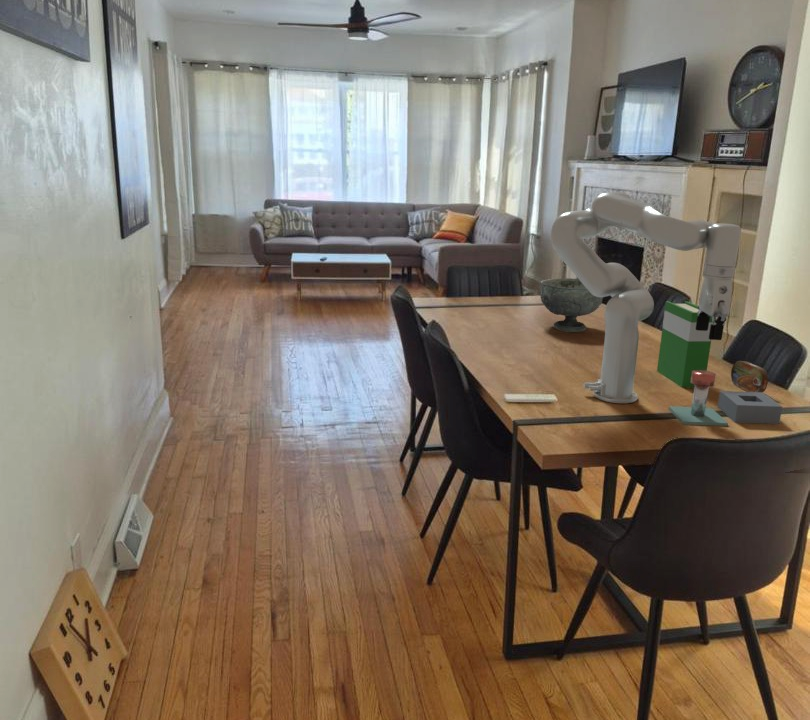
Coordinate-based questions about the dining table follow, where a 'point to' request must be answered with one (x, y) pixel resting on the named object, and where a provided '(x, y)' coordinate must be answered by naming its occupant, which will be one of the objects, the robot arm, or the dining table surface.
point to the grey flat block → (749, 407)
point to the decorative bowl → (568, 302)
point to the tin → (749, 377)
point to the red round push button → (701, 390)
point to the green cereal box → (682, 344)
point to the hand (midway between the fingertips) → (708, 334)
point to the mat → (709, 419)
